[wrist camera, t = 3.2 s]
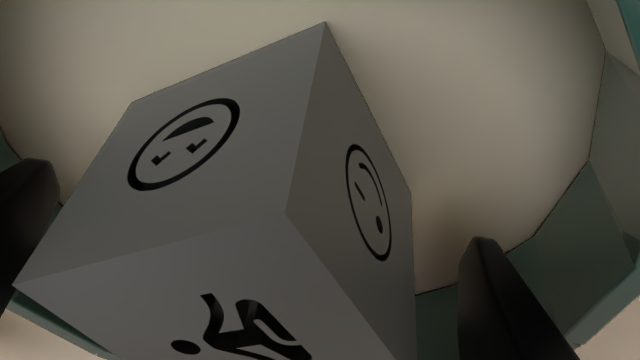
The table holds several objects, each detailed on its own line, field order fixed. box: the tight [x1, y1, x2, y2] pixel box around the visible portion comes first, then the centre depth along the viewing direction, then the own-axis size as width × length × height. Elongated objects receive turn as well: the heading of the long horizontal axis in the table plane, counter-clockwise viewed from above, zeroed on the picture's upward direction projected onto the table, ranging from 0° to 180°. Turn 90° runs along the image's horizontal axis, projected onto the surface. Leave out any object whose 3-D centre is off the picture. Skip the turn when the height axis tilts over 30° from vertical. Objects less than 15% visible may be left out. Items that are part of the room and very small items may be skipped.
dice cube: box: [12, 22, 417, 360], centre depth 10 cm, size 5×5×5 cm
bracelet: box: [0, 0, 640, 360], centre depth 11 cm, size 15×15×3 cm
